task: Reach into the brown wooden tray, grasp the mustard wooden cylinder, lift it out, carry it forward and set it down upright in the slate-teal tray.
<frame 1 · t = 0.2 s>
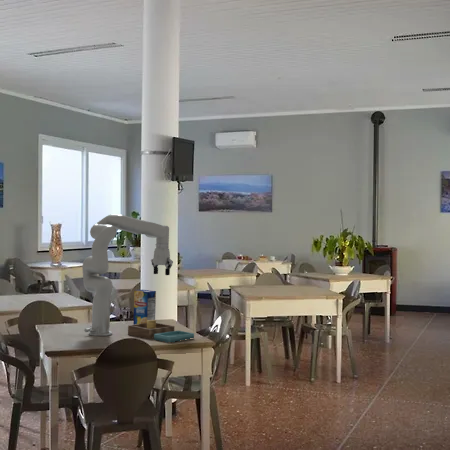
hand: (161, 274, 382), 31 cm above the table, fingers open, 9 cm apart
brown wooden tray: (151, 334, 351), on the table
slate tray: (174, 339, 340), on the table
mustard cylinder: (151, 327, 351), in the brown wooden tray
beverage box: (144, 328, 373), on the table
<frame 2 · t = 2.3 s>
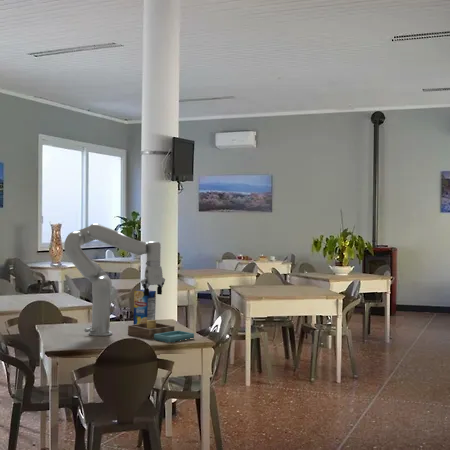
hand: (153, 295, 351), 22 cm above the table, fingers open, 9 cm apart
nothing on the table moved.
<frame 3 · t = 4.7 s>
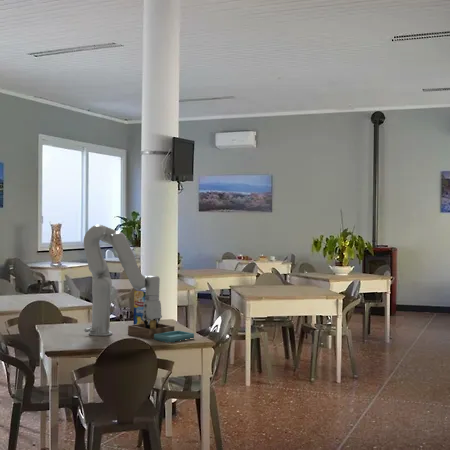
hand: (151, 330, 351), 2 cm above the table, fingers closed on mustard cylinder, 5 cm apart
mustard cylinder: (151, 327, 351), in the brown wooden tray, touching gripper
everything else where it was.
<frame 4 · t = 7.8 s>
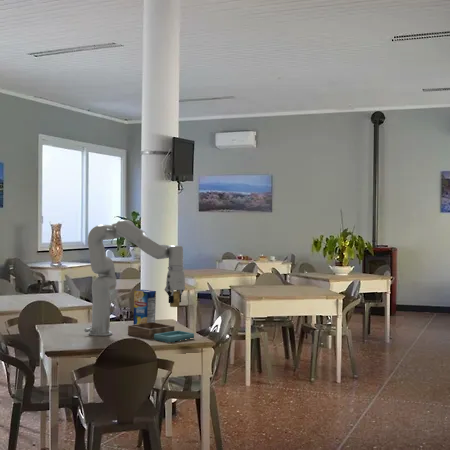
hand: (174, 302, 340), 20 cm above the table, fingers closed on mustard cylinder, 5 cm apart
mustard cylinder: (174, 299, 340), point 22 cm above the table, touching gripper
everything else where it was.
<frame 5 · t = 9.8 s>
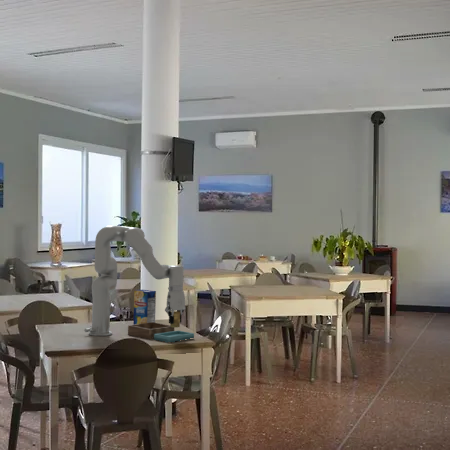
hand: (175, 322, 340), 9 cm above the table, fingers closed on mustard cylinder, 5 cm apart
mustard cylinder: (175, 319, 340), point 11 cm above the table, touching gripper
everything else where it was.
when the fingers open (5 cm above the table, at t = 11.1 s): mustard cylinder drops 1 cm, resting on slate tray.
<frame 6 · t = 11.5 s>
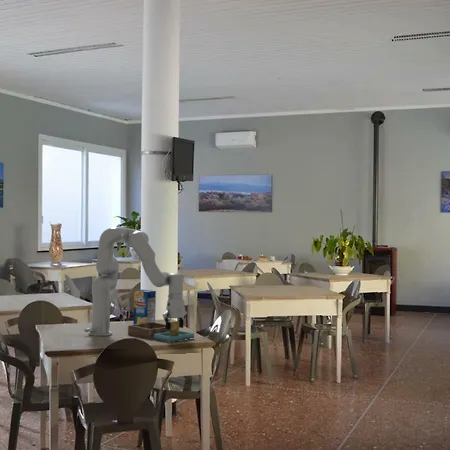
hand: (174, 328, 340), 6 cm above the table, fingers open, 9 cm apart
mustard cylinder: (174, 329, 340), in the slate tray, point 6 cm above the table
everything else where it was.
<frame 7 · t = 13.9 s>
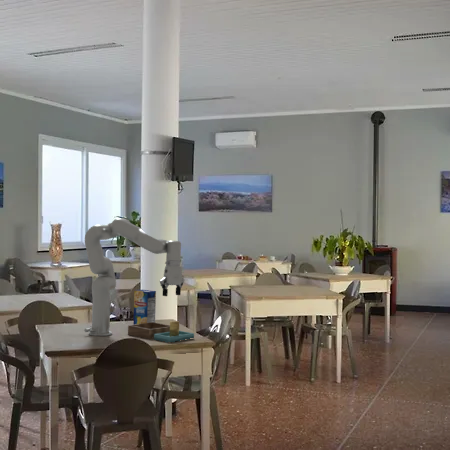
hand: (171, 295, 341), 23 cm above the table, fingers open, 9 cm apart
nothing on the table moved.
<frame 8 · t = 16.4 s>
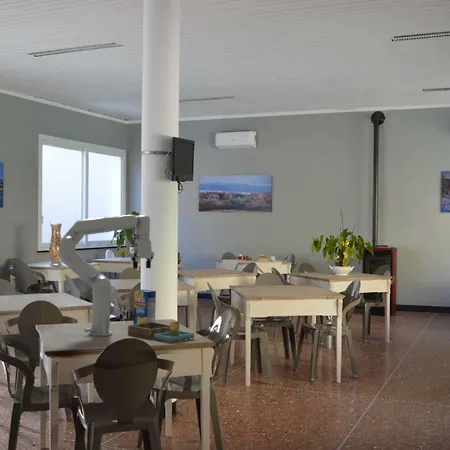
hand: (141, 268, 354), 36 cm above the table, fingers open, 9 cm apart
nothing on the table moved.
at the end: mustard cylinder inside the target area on the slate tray (0.0 cm from its centre), point 5.5 cm above the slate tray's base; mustard cylinder tilted 0°; the gripper is holding nothing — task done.
